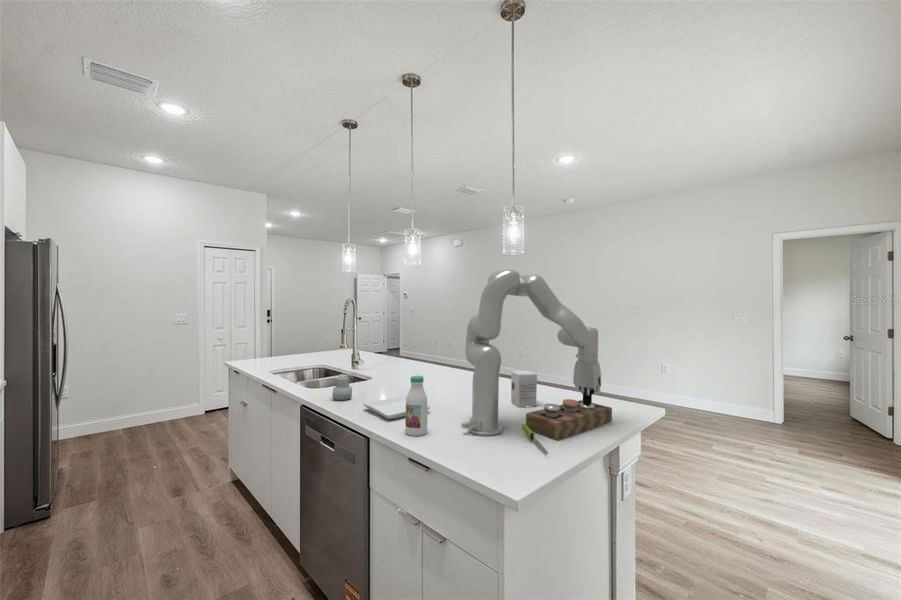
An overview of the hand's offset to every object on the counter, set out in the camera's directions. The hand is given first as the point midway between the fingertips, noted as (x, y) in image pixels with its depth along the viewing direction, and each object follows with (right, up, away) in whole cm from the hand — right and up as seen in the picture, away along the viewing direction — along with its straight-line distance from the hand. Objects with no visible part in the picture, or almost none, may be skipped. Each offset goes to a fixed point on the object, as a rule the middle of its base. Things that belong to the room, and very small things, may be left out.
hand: (587, 404), depth 153 cm
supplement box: (-21, -7, +23) cm, 32 cm away
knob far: (0, -6, 0) cm, 6 cm away
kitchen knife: (-27, -6, -26) cm, 38 cm away
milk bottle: (-67, -6, -16) cm, 69 cm away
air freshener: (-106, -6, +29) cm, 110 cm away
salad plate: (-77, -6, +10) cm, 78 cm away
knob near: (-18, -3, -13) cm, 22 cm away
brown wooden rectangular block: (-9, -7, -7) cm, 13 cm away
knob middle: (-9, -3, -7) cm, 11 cm away
